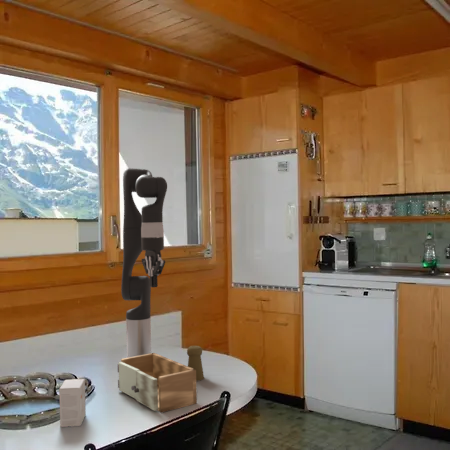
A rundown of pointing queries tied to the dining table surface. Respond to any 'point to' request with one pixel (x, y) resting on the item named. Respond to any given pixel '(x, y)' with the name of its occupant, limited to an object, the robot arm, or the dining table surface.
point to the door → (127, 379)
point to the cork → (195, 361)
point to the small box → (72, 402)
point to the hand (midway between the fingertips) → (153, 287)
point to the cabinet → (163, 382)
